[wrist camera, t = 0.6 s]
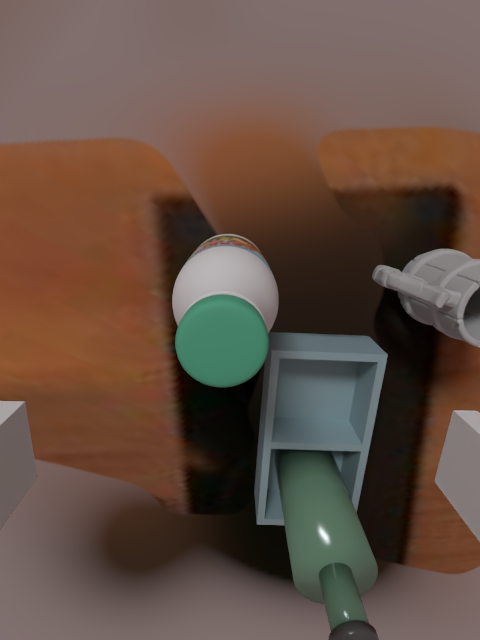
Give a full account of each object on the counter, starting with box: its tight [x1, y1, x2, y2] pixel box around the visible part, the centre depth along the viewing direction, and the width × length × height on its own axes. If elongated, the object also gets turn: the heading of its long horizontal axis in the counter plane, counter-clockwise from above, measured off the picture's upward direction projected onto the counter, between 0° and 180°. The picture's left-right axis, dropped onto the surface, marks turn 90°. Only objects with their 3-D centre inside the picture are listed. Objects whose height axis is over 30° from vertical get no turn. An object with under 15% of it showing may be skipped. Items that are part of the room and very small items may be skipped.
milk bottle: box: [172, 234, 278, 387], centre depth 26 cm, size 8×8×20 cm
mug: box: [372, 249, 480, 348], centre depth 31 cm, size 8×12×12 cm, turn 76°
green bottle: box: [275, 449, 379, 640], centre depth 33 cm, size 7×7×19 cm
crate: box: [254, 332, 388, 525], centre depth 39 cm, size 11×21×5 cm, turn 177°
